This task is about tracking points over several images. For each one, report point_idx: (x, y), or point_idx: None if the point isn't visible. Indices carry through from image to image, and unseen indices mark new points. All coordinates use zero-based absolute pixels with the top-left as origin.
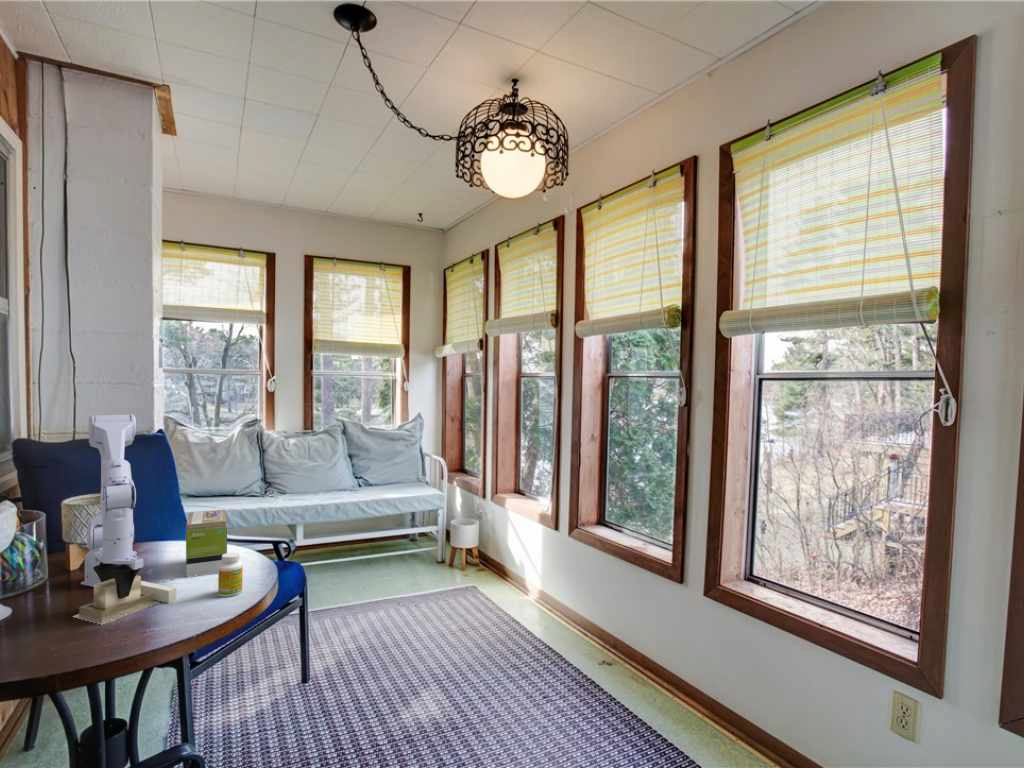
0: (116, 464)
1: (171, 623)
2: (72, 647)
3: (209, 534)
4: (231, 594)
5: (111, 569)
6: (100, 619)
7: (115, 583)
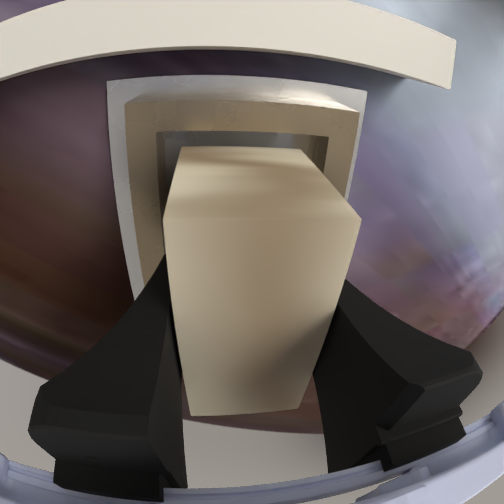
0: None
1: (496, 229)
2: None
3: None
4: None
5: (172, 428)
6: None
7: (297, 375)
